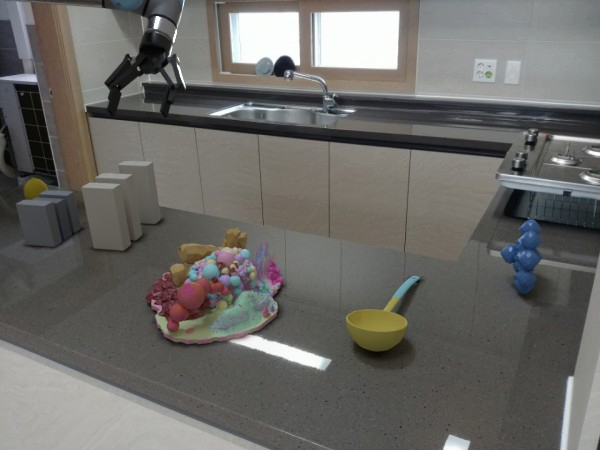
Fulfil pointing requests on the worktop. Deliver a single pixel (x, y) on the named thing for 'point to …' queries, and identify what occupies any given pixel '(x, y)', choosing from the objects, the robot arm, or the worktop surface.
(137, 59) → the robot arm
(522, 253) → the grapes
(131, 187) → the cream book row
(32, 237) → the grey books
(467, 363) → the worktop surface
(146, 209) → the cream tall block
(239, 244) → the candy landscape model
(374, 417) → the worktop surface
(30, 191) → the lemon
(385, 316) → the ladle
